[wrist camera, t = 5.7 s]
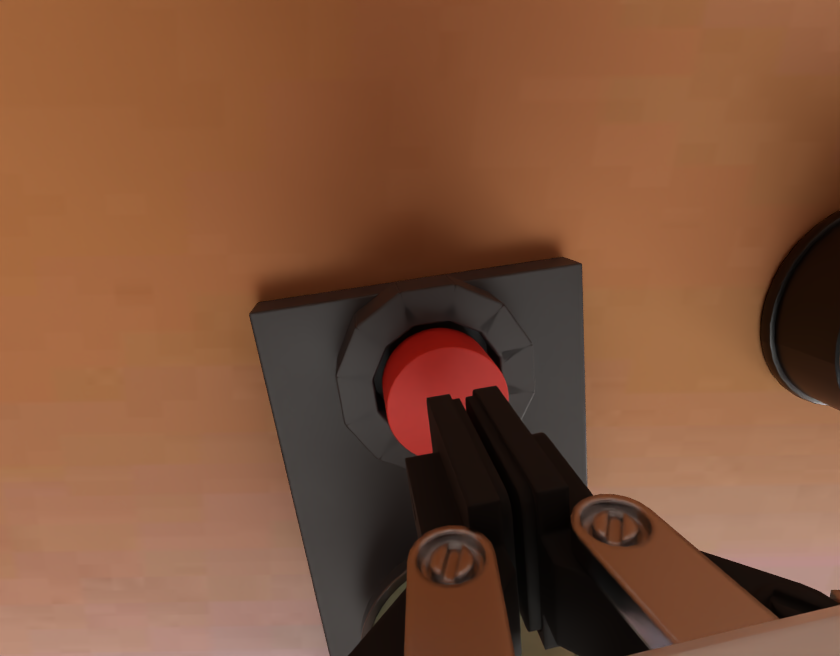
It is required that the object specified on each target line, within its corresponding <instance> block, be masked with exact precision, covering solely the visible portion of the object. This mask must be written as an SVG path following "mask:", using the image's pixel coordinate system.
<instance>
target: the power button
mask: <svg viewBox="0 0 840 656" xmlns="http://www.w3.org/2000/svg"><path fill="white" fill-rule="evenodd" d="M490 386H497V387H498V388H499V389H500V391H501V392H502V394H503V395H504V396H505V398H506V399H507V401H508V402H509V394H508V387H507V384H506V381H505V378H504V376H503V374H502V373H501V371H500V370H499V368H498V367H497V365H496V364H495V363H494V362H493V361H492V359H491V358H490V357H489V356H488V354H487V353H486V352H485V351H484V349H483V348H482V347H481V346H480V345H479V344H478V342H476V341H475V340H474V339H473V338H472V337H470V336H468V335H467V334H465V333H463V332H461V331H458V330H454V329H449V328H431V329H427V330H423V331H420V332H417V333H415V334H413V335H411V336H409V337H408V338H406V339H405V340H404V341H402V342H401V343H400V344H399V345H398V346H397V347H396V348H395V349H394V351H393V352H392V353H391V355H390V356H389V358H388V360H387V362H386V365H385V368H384V371H383V376H382V388H383V395H384V402H385V408H386V414H387V419H388V424H389V426H390V429H391V431H392V433H393V434H394V436H395V437H396V439H397V440H398V441H399V443H401V444H402V445H403V446H404V447H405V448H406V449H408V450H409V451H410V452H412V453H414V454H416V455H418V456H419V455H424V454H429V453H433V450H432V442H431V434H430V427H429V419H428V411H427V402H426V398H428V397H434V396H439V395H445V394H450V395H451V398H452V399H457V398H460V400H461V402H462V404H463V406H464V408H465V410H466V404H465V398H466V397H468V396H472V393H473V389H479V388H485V387H490Z"/></svg>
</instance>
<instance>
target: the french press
mask: <svg viewBox="0 0 840 656" xmlns="http://www.w3.org/2000/svg"><path fill="white" fill-rule="evenodd" d="M761 342H762V347H763V352H764V357H765V359H766V362H767V364H768V366H769V368H770V371H771V373H772V374H773V375H774V376H775V378H776V379H777V380H778V381H779V383H780V384H781V385H782V386H783V387H784V388H786V389H787V390H789V391H790V392H791V393H793V394H794V395H795V396H798V397H800V398H802V399H805V400H807V401H810V402H812V403H815V404H822V405H829V406H831V407H833V408H835V409H837V410H840V365H839V357H840V211H838V212H836V213H834V214H832V215H831V216H829V217H828V218H826V219H825V220H823V221H822V222H820V223H819V224H817V225H816V226H815V227H814V228H813V229H812V230H811V231H810V232H808V233H807V234H806V235H805V236H804V237H803V238H802V239H801V240H800V241H799V242H798V243H797V244H796V246H795V247H794V248H793V250H792V251H791V252H790V253H789V255H788V256H787V257H786V258H785V260H784V261H783V263H782V265H781V267H780V269H779V270H778V272H777V274H776V276H775V277H774V279H773V281H772V284H771V287H770V289H769V292H768V295H767V297H766V300H765V305H764V310H763V315H762V320H761Z"/></svg>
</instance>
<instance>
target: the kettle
mask: <svg viewBox="0 0 840 656" xmlns="http://www.w3.org/2000/svg"><path fill="white" fill-rule="evenodd" d="M407 560H408V558H407V559H406V560H404V561H403V562H402V563H400V564H399V565H398V566H397V567H395V568H394V569H393V570H392V571H391V572H390V573H389V574H388V575H387V576H386V577H385V578H384V579H383V580H382V582H381V583H380V584H379V586H378V587H377V588H376V590H375V591H374V593H373V595H372V596H371V598H370V600H369V602H368V604H367V607H366V609H365V612H364V615H363V619H362V623H361V632H360V641H361V640H362V639H363V638H364V636H365V635H366V634H367V633H368V632H369V631H370V629H371V628H372V627H373V626H374V625H375V624H376V622H377V621H378V620H379V619H380V618H381V616H382V615H383V614H384V613H385V612H386V611H387V609H388V608H389V607H390V606H391V605H392V604H393V602H394V601H395V600H396V599H397V598H398V597H399V595H400V594H401V593H402V592H403V591H404V590H405V588H406V584H407ZM519 613H520V612H519ZM520 627H521V633H520V635H521V649H522V654H521V656H574V653H572V652H570V651H568V650H566V649H564V648H562V647H555V648H551V649H547V650H545V648H544V646H543V644H542V641H541V639H540V636H539V634H538V632H537V630H536V631H532V632H528V631H527V629H526V627H525V625H524V622H523V620H522V617H521V615H520Z"/></svg>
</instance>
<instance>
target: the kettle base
mask: <svg viewBox="0 0 840 656" xmlns="http://www.w3.org/2000/svg"><path fill="white" fill-rule="evenodd" d="M249 316H250V320H251V325H252V329H253V333H254V337H255V342H256V346H257V350H258V354H259V358H260V363H261V367H262V371H263V375H264V380H265V384H266V388H267V392H268V396H269V401H270V405H271V409H272V413H273V418H274V422H275V426H276V430H277V434H278V439H279V443H280V447H281V451H282V456H283V460H284V464H285V468H286V472H287V477H288V481H289V485H290V489H291V494H292V498H293V502H294V506H295V510H296V515H297V519H298V523H299V527H300V532H301V536H302V540H303V544H304V548H305V553H306V557H307V561H308V565H309V570H310V574H311V578H312V582H313V586H314V591H315V595H316V599H317V603H318V608H319V612H320V616H321V620H322V624H323V629H324V633H325V637H326V641H327V646H328V650H329V654H330V656H348V655H349V654H350V653H351V652H352V651H353V649H354V648H355V647H356V646H357V645H358V643H359V642H360V632H361V623H362V619H363V615H364V612H365V609H366V607H367V604H368V602H369V600H370V598H371V596H372V595H373V593H374V591H375V590H376V588H377V587H378V586H379V584H380V583H381V582H382V580H383V579H384V578H385V577H386V576H387V575H388V574H389V573H390V572H391V571H392V570H393V569H394V568H395V567H397V566H398V565H399V564H400V563H402V562H403V561H404V560H406V559H407V558H408V555H409V551H410V549H411V547H412V546H413V544H414V543H415V541H416V540H417V539H418V535H417V530H416V525H415V520H414V514H413V509H412V503H411V497H410V491H409V484H408V478H407V471H406V464H405V458H408V457H413V456H418V455H416V454H414V453H412V452H410V451H409V450H408V449H406V448H405V447H404V446H403V445H402V444H401V443H399V441H398V440H397V439H396V437H395V436H394V434H393V433H392V431H391V429H390V426H389V424H388V419H387V414H386V408H385V402H384V395H383V388H382V376H383V371H384V368H385V365H386V362H387V360H388V358H389V356H390V355H391V353H392V352H393V351H394V349H395V348H396V347H397V346H398V345H399V344H400V343H401V342H402V341H404V340H405V339H406V338H408V337H409V336H411V335H413V334H415V333H417V332H420V331H423V330H427V329H431V328H449V329H454V330H458V331H461V332H463V333H465V334H467V335H468V336H470V337H472V338H473V339H474V340H475V341H476V342H478V344H479V345H480V346H481V347H482V348H483V349H484V351H485V352H486V353H487V354H488V356H489V357H490V358H491V359H492V361H493V362H494V363H495V364H496V365H497V367H498V368H499V370H500V371H501V373H502V374H503V376H504V378H505V381H506V384H507V387H508V394H509V403H510V405H511V406H512V408H513V409H514V410H515V412H516V413H517V415H518V416H519V417H520V419H521V420H522V422H523V423H524V424H525V426H526V427H527V428H528V430H529V431H530V433H531V434H535V433H540V432H542V433H545V434H546V435H547V436H548V437H549V439H550V440H551V441H552V443H553V444H554V445H555V447H556V448H557V449H558V450H559V452H560V453H561V454H562V456H563V457H564V458H565V459H566V461H567V462H568V463H569V465H570V466H571V467H572V469H573V470H574V471H575V472H576V474H577V475H578V476H579V478H580V479H581V480H582V482H583V483H584V484H585V485H586V487H587V449H586V409H585V369H584V328H583V288H582V264H581V263H579V262H576V261H573V260H570V259H567V258H564V257H558V258H552V259H545V260H538V261H531V262H525V263H518V264H511V265H505V266H498V267H491V268H485V269H478V270H471V271H465V272H458V273H451V274H445V275H437V276H431V277H424V278H417V279H411V280H404V281H397V282H391V283H385V284H378V285H371V286H364V287H358V288H351V289H344V290H338V291H331V292H324V293H318V294H311V295H304V296H298V297H291V298H284V299H278V300H271V301H264V302H259V303H257V305H256V306H255V307H254V308H253V310H252V311H251V312H250V314H249Z"/></svg>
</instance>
